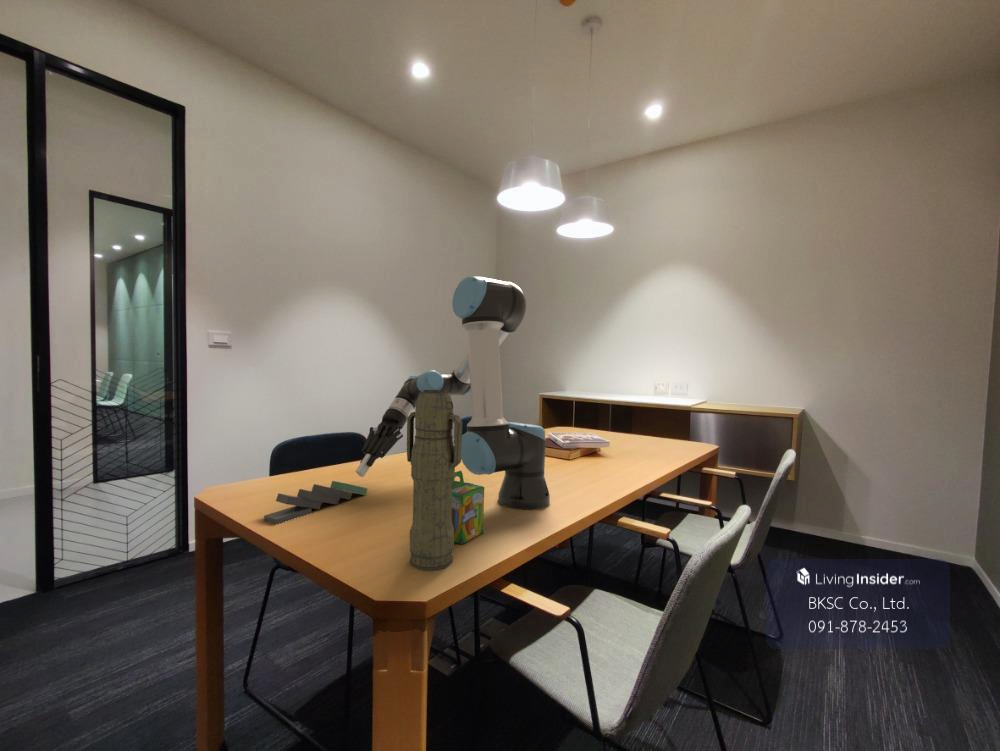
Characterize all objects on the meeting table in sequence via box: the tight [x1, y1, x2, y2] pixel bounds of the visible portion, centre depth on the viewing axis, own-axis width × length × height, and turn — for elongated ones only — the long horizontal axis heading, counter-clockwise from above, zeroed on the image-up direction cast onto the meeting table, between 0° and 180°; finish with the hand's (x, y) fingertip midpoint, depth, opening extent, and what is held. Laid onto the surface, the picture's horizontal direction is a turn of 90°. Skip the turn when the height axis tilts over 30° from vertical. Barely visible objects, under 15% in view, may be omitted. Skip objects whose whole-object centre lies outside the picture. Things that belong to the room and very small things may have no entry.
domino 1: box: [275, 493, 323, 510], centre depth 119 cm, size 2×5×10 cm
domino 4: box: [311, 483, 353, 500], centre depth 127 cm, size 2×5×10 cm
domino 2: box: [263, 505, 313, 525], centre depth 115 cm, size 2×5×10 cm
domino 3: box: [297, 488, 341, 506], centre depth 123 cm, size 2×5×10 cm
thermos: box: [406, 390, 463, 572], centre depth 91 cm, size 9×12×35 cm
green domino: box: [329, 480, 369, 496], centre depth 132 cm, size 2×5×10 cm
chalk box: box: [452, 470, 485, 545], centre depth 106 cm, size 9×9×15 cm
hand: (359, 474), depth 136 cm, fingers closed
